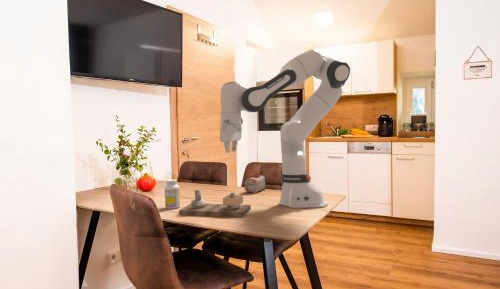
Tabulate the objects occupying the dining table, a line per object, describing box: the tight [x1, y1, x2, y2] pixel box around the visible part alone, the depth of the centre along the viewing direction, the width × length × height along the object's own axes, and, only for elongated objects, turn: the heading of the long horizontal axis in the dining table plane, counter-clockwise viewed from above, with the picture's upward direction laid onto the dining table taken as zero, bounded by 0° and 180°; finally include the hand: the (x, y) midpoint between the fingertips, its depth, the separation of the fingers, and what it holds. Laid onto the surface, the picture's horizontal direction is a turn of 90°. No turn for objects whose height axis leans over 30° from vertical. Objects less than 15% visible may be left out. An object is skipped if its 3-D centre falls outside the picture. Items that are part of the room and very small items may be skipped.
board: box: [178, 189, 252, 218], centre depth 156 cm, size 28×14×10 cm, turn 77°
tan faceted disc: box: [222, 194, 244, 206], centre depth 154 cm, size 7×7×3 cm
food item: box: [244, 173, 266, 194], centre depth 203 cm, size 14×8×10 cm, turn 154°
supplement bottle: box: [164, 178, 181, 210], centre depth 166 cm, size 7×7×13 cm
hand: (231, 151), depth 155 cm, fingers open, 8 cm apart
